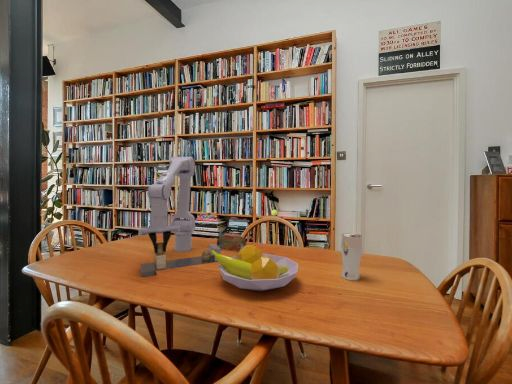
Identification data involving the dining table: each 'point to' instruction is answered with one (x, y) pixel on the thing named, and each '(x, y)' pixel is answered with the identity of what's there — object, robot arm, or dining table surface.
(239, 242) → the tin
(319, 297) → the dining table surface
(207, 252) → the walnut
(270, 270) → the fruit bowl
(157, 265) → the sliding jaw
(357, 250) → the beer glass
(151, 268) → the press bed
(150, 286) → the dining table surface
